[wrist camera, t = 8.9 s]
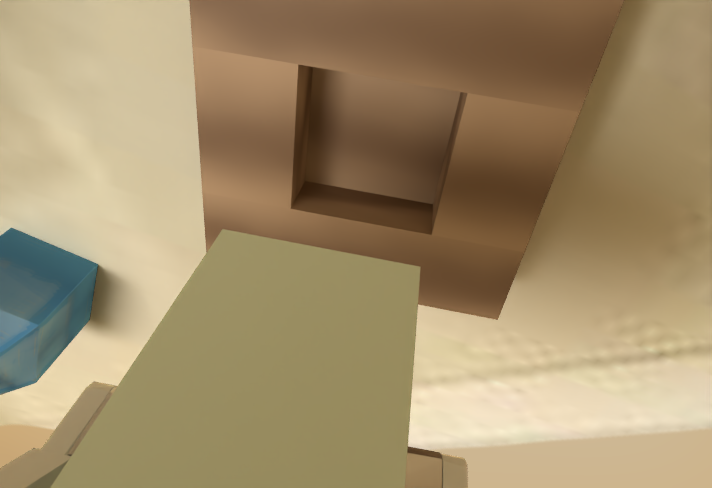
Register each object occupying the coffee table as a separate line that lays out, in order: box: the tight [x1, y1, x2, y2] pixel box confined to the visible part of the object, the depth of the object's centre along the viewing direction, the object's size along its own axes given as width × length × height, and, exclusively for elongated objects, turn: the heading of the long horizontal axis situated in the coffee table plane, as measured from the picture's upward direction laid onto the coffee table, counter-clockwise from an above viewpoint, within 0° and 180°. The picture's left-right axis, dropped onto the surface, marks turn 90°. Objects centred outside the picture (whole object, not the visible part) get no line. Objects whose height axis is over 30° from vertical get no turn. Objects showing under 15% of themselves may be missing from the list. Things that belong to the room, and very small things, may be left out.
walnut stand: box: [189, 0, 624, 320], centre depth 24 cm, size 16×16×4 cm
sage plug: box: [50, 229, 421, 488], centre depth 10 cm, size 5×5×9 cm
